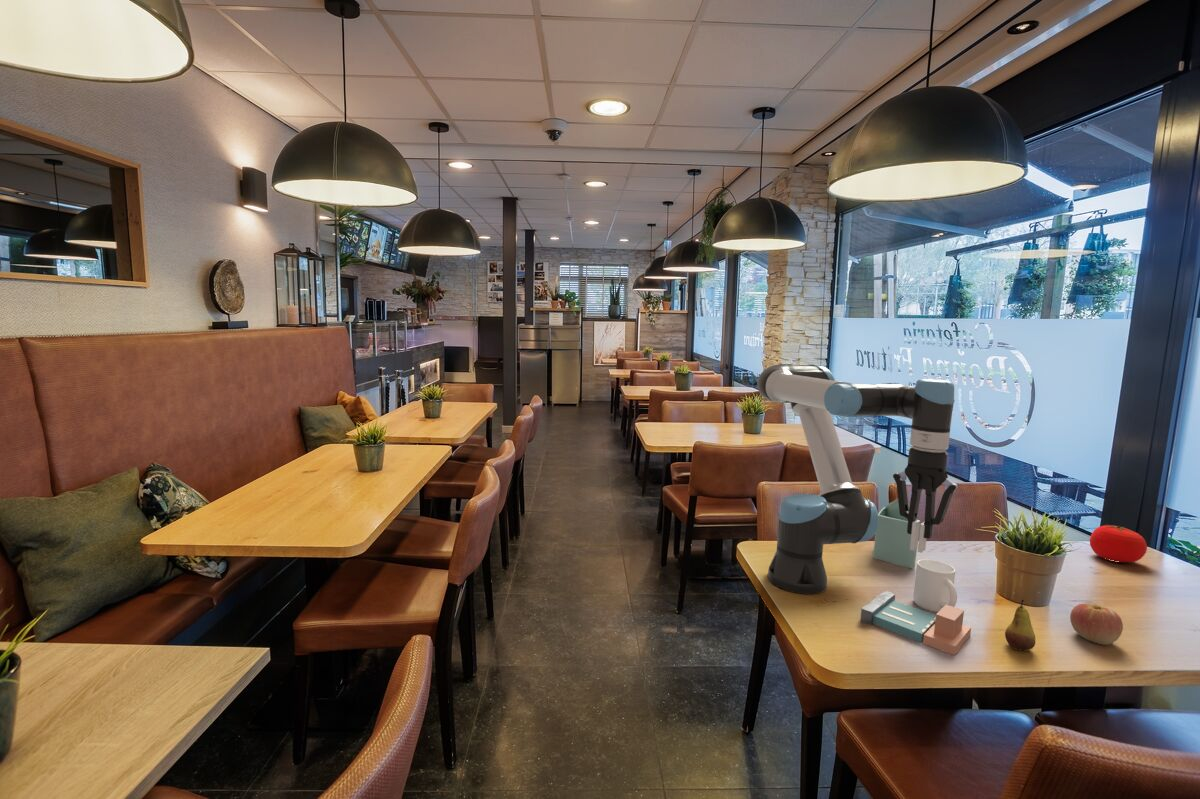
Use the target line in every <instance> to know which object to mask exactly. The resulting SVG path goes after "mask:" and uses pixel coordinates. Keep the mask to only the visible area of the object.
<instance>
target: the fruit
mask: <svg viewBox="0 0 1200 799" xmlns="http://www.w3.org/2000/svg"><path fill="white" fill-rule="evenodd" d="M1020 602H1021V603H1020V605H1019V606H1017V608H1016V610H1015V613H1014V615H1013V619H1012V621H1011V623H1010V624H1009V625H1008V626H1007V627H1006V629H1005V631H1004V637H1005V640H1006V642H1007V643H1008V645H1009V646H1010V647H1011V648H1013V650H1017V651H1018V650H1019V651H1030V650H1032V649H1033V648H1034V647H1035V645H1036V634H1035V631H1034V629H1033V624H1032V621H1031V616H1030V613H1029V612H1028V609H1027V608H1026V607H1025V606H1023V604H1024V602H1025V600H1024V599H1021V601H1020Z"/></svg>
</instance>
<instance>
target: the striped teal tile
mask: <svg viewBox="0 0 1200 799" xmlns="http://www.w3.org/2000/svg"><path fill="white" fill-rule="evenodd" d="M935 619H936V614H933V613H931V612H928V611H926V610H923V609H920V608H917V607H913V606H910V605H908V604H905V603H902V602H900V601H897V600H895V601H894V600H893V601H891V602H890V603H889V604H888V605H886V606H885V607H884V608H883V609H881V610H880V611H879V612H878V613H876V614H875V615H874V616H873V624H872V625H875V626H878V627H880V628H883V629H885V630H888V631H891V632H893V633H895V634H898V635H900V636H904V637H906V638H909V639H912V640H914V641H916V642H919V643H923V640H924V634H925V633H926V632H927V631H928V630H929V629H930V628H931V627H932V626H933V625H934V624H935Z"/></svg>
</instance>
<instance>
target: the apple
mask: <svg viewBox="0 0 1200 799" xmlns="http://www.w3.org/2000/svg"><path fill="white" fill-rule="evenodd" d="M1069 620H1070V624H1071V626H1072V628H1073V630H1074V631H1075V632H1076V633H1077V634H1078V635H1079V636H1080V637H1082V638H1083V639H1085V640H1087V641H1089V642H1093V643H1095V644H1098V645H1106V646H1107V645H1110V644H1112V643H1115V642H1116V641H1117V640H1119V638H1120V637H1121V635H1122V633H1123V630H1124V624H1123V619H1122V617H1121V616H1120V615H1119V614H1118V613H1117V612H1116V611H1114V610H1113V609H1111V608H1109V607H1106V606H1104V605H1101V604H1097V603H1079V604H1077V605H1075V606H1073V608H1072V609H1071V612H1070V618H1069Z"/></svg>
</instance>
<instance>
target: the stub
mask: <svg viewBox="0 0 1200 799" xmlns="http://www.w3.org/2000/svg"><path fill="white" fill-rule="evenodd" d="M964 614H965V610H963V609H960V608H957V607H956V606H954V607H952V606H949V605H945V606H944V607H943V608H942V609H941V610H940V611H939V612H936V614H935V615H936V619H935V624H934V625H933V626H932V627H931V628H930V629H929V630H928V631H927V632H926V633H925V634H924V640H923V641H922V644H923V645H927V646H930V647H932V648H934V649H937V650H939V651H942V652H945V653H947V654H950V655H953V656H955V655H956V654H957V652H959V650H960V649H961V647H963V645H964V644H965V643H966V641H967V640H968V639H969V638H970V637H971V631H972V627H971V626H969V625H965V624H963V623H964V616H965V615H964Z"/></svg>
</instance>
